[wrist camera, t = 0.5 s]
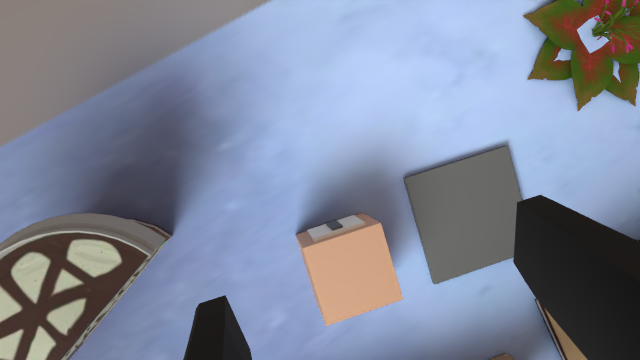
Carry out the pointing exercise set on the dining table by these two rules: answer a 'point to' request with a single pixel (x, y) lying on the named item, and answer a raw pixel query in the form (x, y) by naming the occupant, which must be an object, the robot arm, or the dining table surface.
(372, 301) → the letter cube
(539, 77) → the lily flower
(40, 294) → the food container
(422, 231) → the charcoal pad
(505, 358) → the walnut screen
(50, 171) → the dining table surface
